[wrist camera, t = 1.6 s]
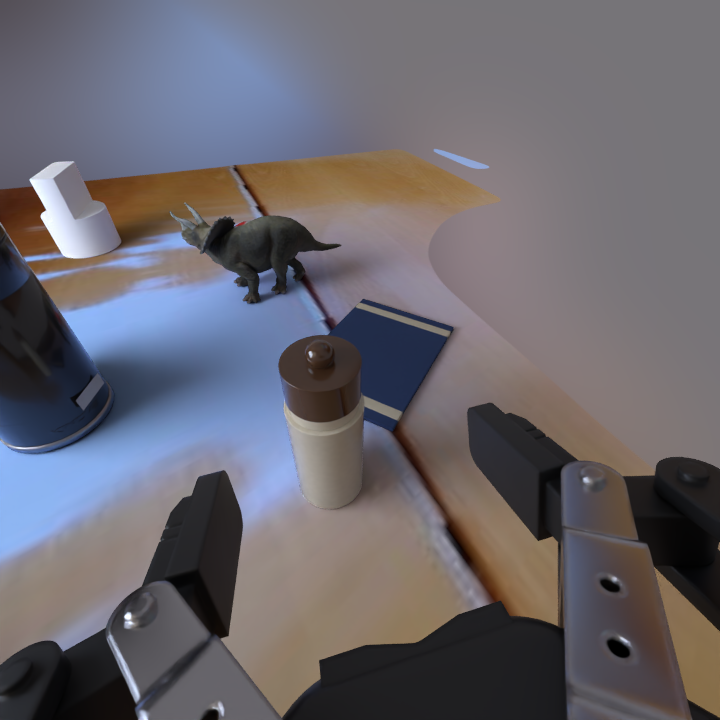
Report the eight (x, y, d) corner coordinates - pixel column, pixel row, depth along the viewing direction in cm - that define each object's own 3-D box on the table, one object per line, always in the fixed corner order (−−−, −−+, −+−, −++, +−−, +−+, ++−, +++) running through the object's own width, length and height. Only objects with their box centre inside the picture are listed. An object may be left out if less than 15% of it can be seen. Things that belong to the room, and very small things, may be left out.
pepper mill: (286, 490, 31) (251, 355, 20) (321, 442, 34) (307, 306, 24) (341, 521, 29) (333, 390, 19) (373, 468, 32) (381, 332, 22)
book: (283, 383, 40) (282, 380, 39) (363, 301, 51) (363, 298, 51) (392, 431, 35) (392, 428, 35) (453, 330, 47) (453, 326, 46)
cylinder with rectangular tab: (113, 255, 61) (75, 177, 53) (52, 260, 59) (4, 181, 51) (127, 232, 67) (95, 160, 59) (72, 236, 66) (32, 163, 58)
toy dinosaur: (340, 264, 59) (338, 191, 51) (351, 292, 53) (351, 214, 45) (196, 280, 55) (170, 203, 48) (191, 312, 49) (160, 230, 42)
